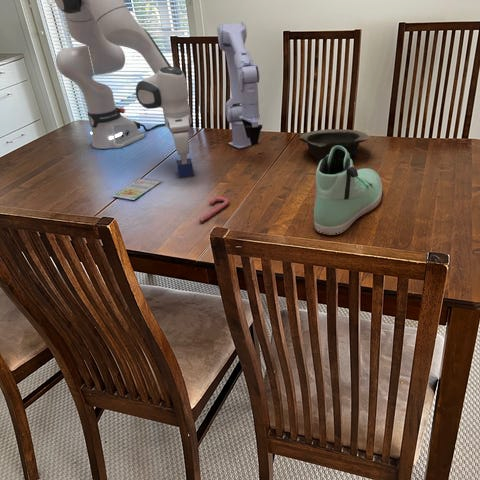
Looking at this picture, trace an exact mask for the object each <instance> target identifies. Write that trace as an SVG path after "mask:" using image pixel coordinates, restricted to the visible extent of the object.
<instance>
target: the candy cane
mask: <svg viewBox="0 0 480 480" xmlns="http://www.w3.org/2000/svg"><path fill="white" fill-rule="evenodd" d="M217 202H222V203H221V204H219V205H217V206H216V207H215V208H213V209H211V210H210V211H209V212H207V213H206V214H204V215H203V216H202V217H200V218H199V219H198V221H199V223H204V222H205V221H207V220H208V219H210V218H211V217H213V216H214V215H216V214H217V213H218V212H220V211H222V210H223V209H225V208H226V207H227V206H229V204H230V199H228V198H227V197H224V196H216V197H213V198H211V199H210V201H209V204H210V205H214V204H215V203H217Z"/></svg>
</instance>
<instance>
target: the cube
mask: <svg viewBox="0 0 480 480" xmlns="http://www.w3.org/2000/svg"><path fill="white" fill-rule="evenodd" d="M175 162H176V167H177V173H178V178H180V179H181V178H188V177H189V178H190V177H194V175H195V174H194V167H193V161H192V158H187V164H182V161H181V159H177V160H176V161H175Z"/></svg>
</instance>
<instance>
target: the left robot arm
mask: <svg viewBox="0 0 480 480" xmlns="http://www.w3.org/2000/svg"><path fill="white" fill-rule="evenodd" d="M53 1H54V3H55V4H56V6H57V7H58V10H60V11H61V12H63V15H64V19H65V22H66V26H67V30H68V33H69V35H70V37H71V38H72V39H73V40H74V41H76V42H78V43H79V44H82V45H80V46H79V45H78V46H71V47H68V48H67V47H66V48H64V49H62V50H61V49H60V50H59V51H58V52H57V55H56V56H55V65H56V67H57V71H58V72H59V73H60V74H61V75H62V76H64V77H65V78H67V79H69V80H70V81H72V82H73V83H74V84H75V86H77V87H78V88H79V89H80V91H81V93H82V95H83V98H84V101H85V104H86V109H87V118H88V122H89V125H90V127H91V128H90V129H91V131H90V134H91V137H92V138H91V140H92V141H91V147H92V148H94V149H98V150H107V149H121V148H122V149H123V148H124V147H127V146H128V145H131V144H132V143H135V142H137V141H139V140H141V139H143V138H145V137H146V135H145V133H144V132H142V131H140V130H141V127H142V128H143V130H144V131H145V132H150V131H153V130H154V129H157V128H159V127H164V126H165V127H166V128H167V129H168V130H169V132H170V133H171V135H172V138H173V141H174V146H175V150H176V152H177V155H178V156H180V160H181V161H182V164H187V159H188V157H187V156H188V155H189V153H190V130H191V124H192V123H193V122H192V114H191V113H192V112H191V106H190V104H189V89H188V83H187V79H186V76H185V73H184V71H183V70H182V69H181V68H179V67H176V66H172V65H171V64H170V63H169V61H168V60H167V58H166V56H164V54H163V52H162V50H161V49H160V47H159V46H158V45H157V43H156V42H155V40H154V39H153V37H152V36H151V35H150V33H149V31H147V30H146V29H145V28H144V27H143V26H141V25H140V24H139V22H137V20H136V19H135V17H134V16H133V15H132V13H131V11H130V10H129V8H128V6H127V5H126V3H125V1H124V0H53ZM122 47H124V48H128V49H131V50H134V51H136V52H138V53H139V55H141V56H142V57H143V58H144V60H145V62H146V63H147V64H148V66H149V68H150V69H151V71H152V72H153V73H154V74H153V75H150V76H148V77H146V78H144V79H142V80H140V81H139V82H137V84H136V86H135V96H136V99H137V101H138V103H139V105H141V106H142V107H143V108H145V109H147V110H151V109H158V108H161V109H162V113H163V120H164V123H159V124H156V125H154V126H152V127H151V128H146V126H145V124H143V123H140V122H138V121H134V120H131V119H129V118H127V117H125V116H123V115H122V114H125V112H126V109H125V108H124V107H123V108H122V107H117V106H116V103H115V97H114V94H113V90H112V88H111V87H110V86H109V85H107V84H105V83H102V82H99V81H97V80H95V79H94V78H93V77H94V76H101V75H107V74H112V73H115V72H118V71H121V70H123V68H124V67H125V65H126V55H125V52H124V50H123V48H122ZM139 129H140V130H139Z"/></svg>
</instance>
